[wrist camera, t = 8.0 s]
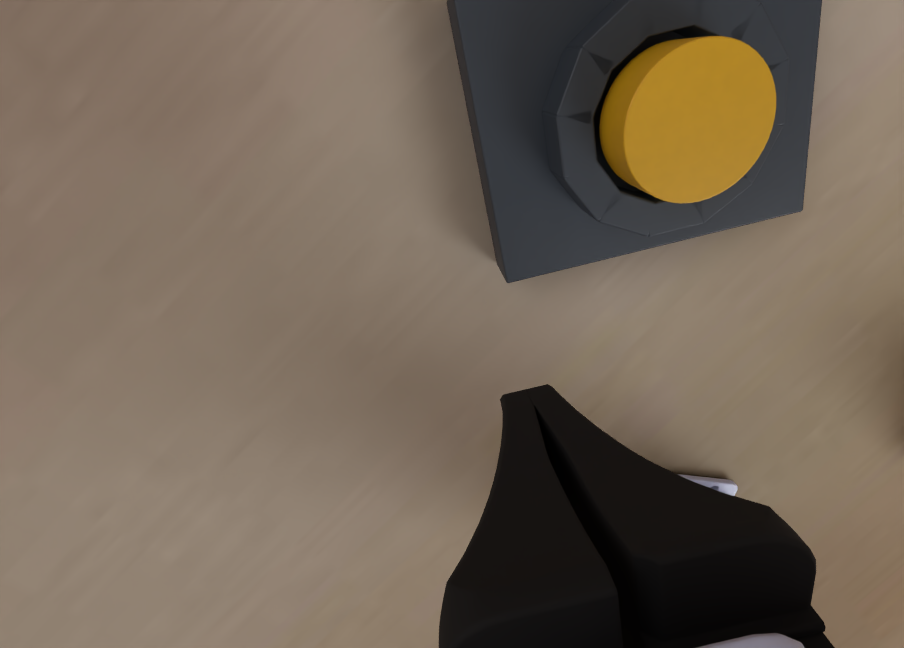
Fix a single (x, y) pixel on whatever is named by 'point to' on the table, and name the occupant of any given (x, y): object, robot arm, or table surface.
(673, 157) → the button
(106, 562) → the table surface
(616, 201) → the grey button base
